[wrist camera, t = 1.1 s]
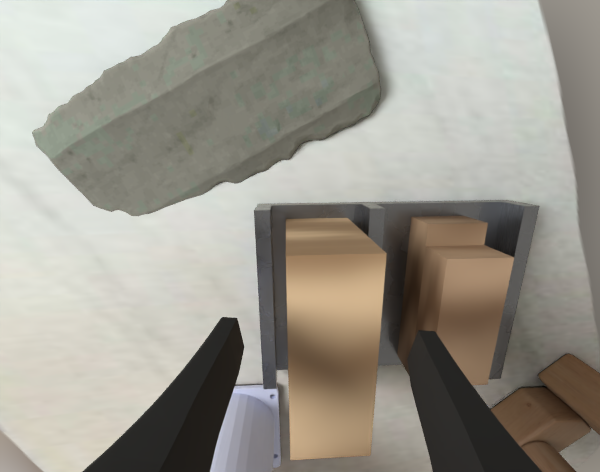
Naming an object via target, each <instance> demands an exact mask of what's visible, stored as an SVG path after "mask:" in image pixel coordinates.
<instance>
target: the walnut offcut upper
mask: <svg viewBox="0 0 600 472" xmlns="http://www.w3.org/2000/svg"><path fill="white" fill-rule="evenodd" d="M513 261H514V257H512V256H509V255H507V254H505V253H502V252H500V251H497V250H495V249H493V248H490V247H488V246H485V245H459V246H426V249H425V257H424V265H423V274H422V282H421V291H420V299H419V307H418V316H417V324H416V332H415V337H416V335H417V332H418V330H424V331H435V332H436V333H437V335H438V336H439V338H440V339H441V341H442V342H443V344H444V345H445V347H446V348H447V350H448V351H449V353H450V354H451V356H452V357H453V359H454V360H455V362H456V363H457V365H458V366H459V368H460V369H461V371H462V372H463V373H464V375H465V376H466V378H467V379H468V380H469V382H470V383H471V385H487V384H488V379H489V374H490V370H491V365H492V360H493V356H494V351H495V346H496V341H497V337H498V332H499V327H500V323H501V318H502V313H503V308H504V304H505V299H506V294H507V290H508V285H509V280H510V275H511V271H512V266H513Z"/></svg>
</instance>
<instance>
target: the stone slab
mask: <svg viewBox="0 0 600 472" xmlns="http://www.w3.org/2000/svg"><path fill="white" fill-rule="evenodd" d="M380 94H381V86H380V80H379V72H378V70H377V67H376V65H375V62H374V59H373V56H372V54H371V51H370V41H369V38H368V35H367V33H366V30H365V27H364V24H363V21H362V18H361V15H360V12H359V9H358V7H357V5H356V3H355V0H227V1H226V2H225V4H224V6H222V7H221V8H219V9H215V10H211V11H209V12H207V13H206V14H204V15H202V16H200V17H198V18H196V19H192V20H188V21H185V22H183V23H180V24H179V25H177V26H174V27H171V28H170V30H169V32H168V33H167V35H166V36H165V37H163V39H162V41H161V42H160V43H159V44H158V45H156V46H154V47H152V48H151V49H149V50H148V51H146V52H145V53H143V54H142V55H139V56H135V57H130V58H129V59H127V60H126V61H124V62H122V63H119V64H117V65H115V66H113V67H112V68H109V69H107V70H105V71H104V72H103V74H102V75H101V77H100V78H99V79H97V80H96V81H95V82H94V83H93V84H91V85H90V86H88V87H86V89H85V90H84V91H82V92H81V93H78V94H76V95H74V96H73V97H72V98H71V99H70V101H69V102H68V103H67V104H64V105H61V106H59V107H58V108H57V109H56V110H55V111H54V112H53V113H51V114H49V115H48V119H47V121H46V123H45V124H44V126H43V127H41V128H38V129H36V130H34V131H33V132H32V134H33V137H34V139H35V143H36V146H37V147H38V148H39V149H40V150H41V151H42V152H44V153H45V154H46V155H47V156H48V158H49V159H50V160H51V161H52V163H53V164H54V165H55V166H56V168H57V169H58V170H59V171H60V172H61V173H62V174H63V175H64V176H65V177H66V178H67V179H68V180H69V181H70V182H71V183H72V184H73V185H74V186H75V187H76V188H77V189H78V190H79V191H80V192H81V193H82V194H83V195H84V196H85V197H86V198H87V199H88V200H89V201H90V202H91V203H92V205H93V206H96V207H98V208H101V209H104V210H108V211H111V212H112V211H115V210H121V211H124V212H126V213H128V214H129V215H131V216H140V215H144V214H150V213H153V212H155V211H158V210H160V209H162V208H164V207H167V206H170V205H173V204H176V203H178V202H181V201H183V200H185V199H189V198H193V197H196V196H200V195H202V194H204V193H206V192H208V191H209V190H210V189H212V188H213V187H214V186H215V185H217V184H219V183H221V182H231V183H240V182H242V181H244V180H245V179H247V178H248V177H250V176H251V175H253V174H255V173H258V172H263V171H266V170H268V169H269V168H270V167H271V166H272V165H273V164H275V163H277V162H278V161H280V160H287V159H289V158H291V156H292V155H293V154H294V152H295V151H296V149H297V148H298V147H299V145H300V144H302V143H304V142H306V141H310V140H322V139H325V138H326V137H328V136H329V135H331V134H333V133H336V132H337V131H339V130H341V129H344V128H346V127H349V126H351V125H354V124H355V123H356V122H357V121H358V120H360V119H361V118H363V117H366V116H369V115H370V114H371V113H372V111H373V109H374V108H375V107H376V105H377V104H378V102H379V100H380Z"/></svg>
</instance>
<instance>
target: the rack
mask: <svg viewBox="0 0 600 472" xmlns="http://www.w3.org/2000/svg"><path fill="white" fill-rule="evenodd" d="M538 210H539V206H537V205H532V204H526V203H520V202H514V201H509V200H485V201H418V202H352V203H285V204H258V205H257V207H256V208H255V210H254V218H255V237H256V256H257V275H258V293H259V312H260V331H261V350H262V369H263V388H264V389H277V370H284V369H288V333H287V289H286V219H309V218H348V219H349V220H350V221H352V222H353V223H354V224H355V225H356V226H357V227H358V228H359V229H360V230H361V231H363V232H364V233H365V234H366V235H367V236H368V237H369V238H370V239H371V240H372V241H374V242H375V243H376V244H377V245H378V246H379V247H380V248H381V249H382V250H383V251H385V252H386V253H387V255H386V268H385V280H384V293H383V305H382V318H381V330H380V342H379V355H378V365H400V364H402V362H401V360H400V359H399V357H398V355H397V352H398V343H399V333H400V323H401V313H402V303H403V294H404V284H405V274H406V264H407V254H408V245H409V235H410V225H411V217H423V216H466V217H470V218H473V219H476V220H480V221H483V222H486V223H488V226H487V232H486V237H485V243H484V245H485V246H488V247H490V248H493V249H495V250H497V251H500V252H502V253H505V254H507V255H509V256H512V257H514V261H513V266H512V271H511V275H510V280H509V285H508V290H507V294H506V299H505V304H504V308H503V313H502V318H501V323H500V327H499V332H498V337H497V341H496V346H495V351H494V356H493V360H492V365H491V370H490V374H489V379H500V378H501V374H502V369H503V365H504V360H505V356H506V352H507V347H508V343H509V338H510V334H511V329H512V325H513V321H514V316H515V312H516V307H517V303H518V298H519V294H520V289H521V285H522V281H523V276H524V272H525V267H526V263H527V258H528V254H529V250H530V245H531V241H532V236H533V232H534V227H535V223H536V219H537V214H538Z"/></svg>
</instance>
